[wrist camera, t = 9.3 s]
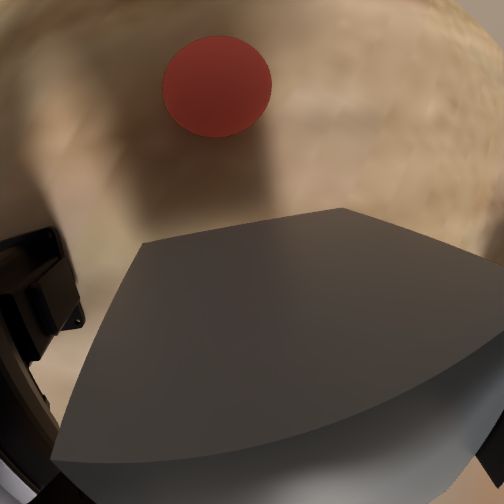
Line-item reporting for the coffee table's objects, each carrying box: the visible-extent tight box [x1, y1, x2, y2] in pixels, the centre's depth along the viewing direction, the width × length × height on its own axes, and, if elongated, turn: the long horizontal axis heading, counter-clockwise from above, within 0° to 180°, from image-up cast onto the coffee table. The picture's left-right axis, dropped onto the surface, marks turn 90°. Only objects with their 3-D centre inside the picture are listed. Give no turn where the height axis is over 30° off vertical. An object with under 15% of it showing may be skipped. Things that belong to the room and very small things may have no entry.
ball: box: [162, 36, 272, 137], centre depth 12 cm, size 5×5×5 cm
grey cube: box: [50, 208, 504, 504], centre depth 8 cm, size 8×8×9 cm
